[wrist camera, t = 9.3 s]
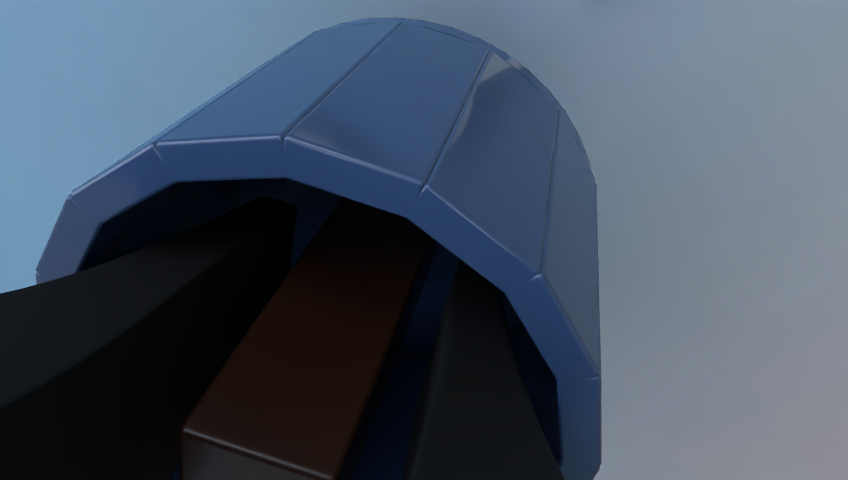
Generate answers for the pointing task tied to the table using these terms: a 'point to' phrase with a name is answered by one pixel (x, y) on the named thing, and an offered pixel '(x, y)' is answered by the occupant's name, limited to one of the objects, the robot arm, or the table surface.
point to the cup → (391, 200)
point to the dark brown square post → (314, 357)
